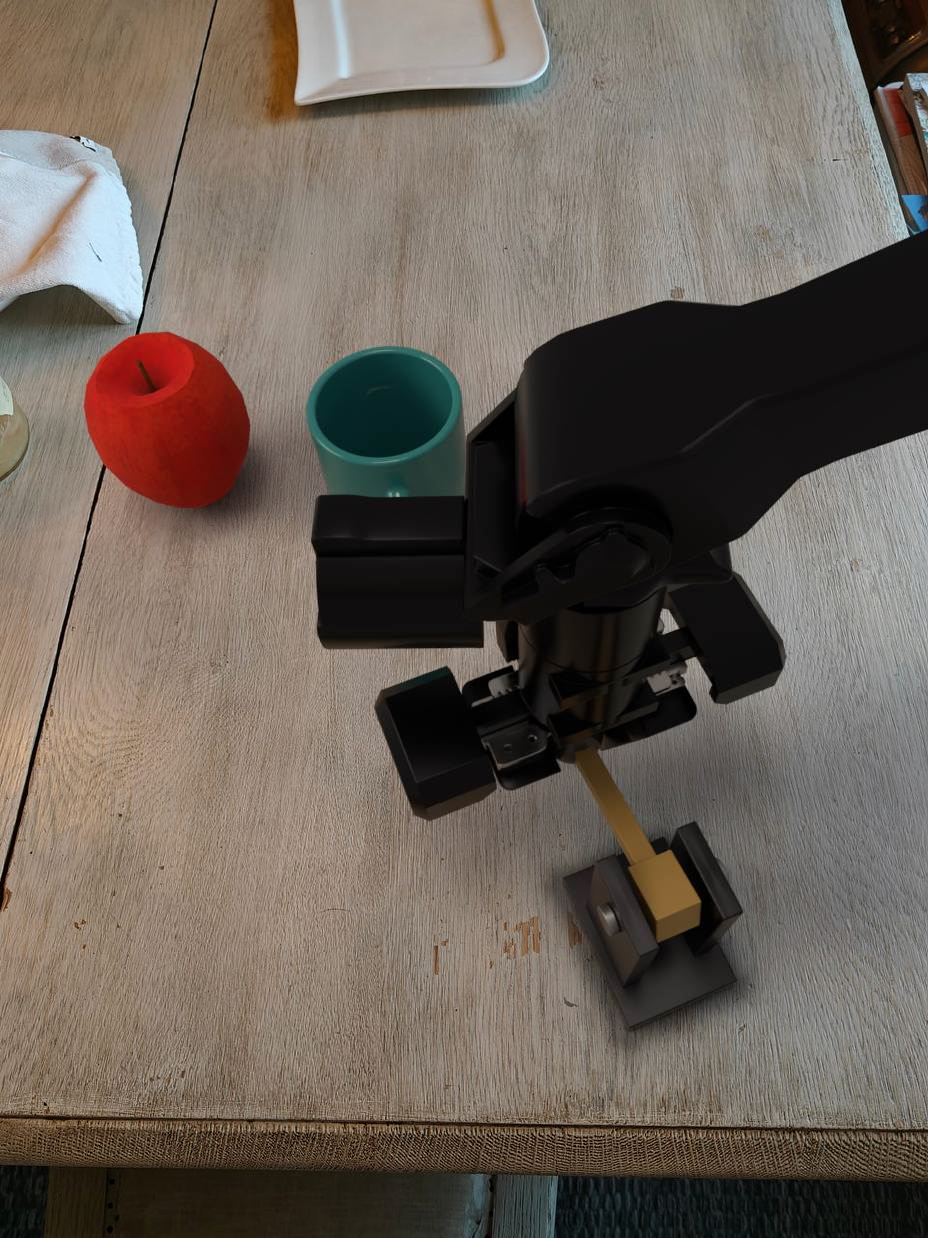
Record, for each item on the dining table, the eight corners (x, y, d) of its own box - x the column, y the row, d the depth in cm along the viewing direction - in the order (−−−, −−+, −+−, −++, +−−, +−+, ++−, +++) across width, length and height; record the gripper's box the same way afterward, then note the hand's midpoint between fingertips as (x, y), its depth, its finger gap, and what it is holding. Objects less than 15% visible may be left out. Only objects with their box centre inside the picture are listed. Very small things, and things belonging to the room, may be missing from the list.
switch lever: (535, 739, 52) (529, 703, 50) (589, 718, 53) (586, 682, 50) (646, 952, 43) (645, 921, 41) (709, 925, 44) (712, 893, 41)
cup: (348, 621, 61) (314, 519, 51) (334, 474, 67) (300, 356, 57) (489, 599, 61) (481, 493, 51) (461, 454, 67) (450, 334, 57)
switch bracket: (561, 883, 52) (568, 829, 43) (661, 842, 53) (687, 780, 44) (627, 1031, 48) (648, 1004, 40) (733, 984, 49) (776, 948, 40)
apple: (117, 455, 69) (42, 327, 58) (248, 411, 70) (198, 277, 59) (147, 561, 64) (71, 443, 53) (287, 511, 65) (239, 386, 55)
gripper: (700, 400, 44) (659, 580, 57) (311, 534, 41) (365, 689, 55) (833, 592, 38) (753, 740, 52) (395, 759, 36) (431, 869, 49)
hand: (572, 753), depth 52 cm, fingers closed on switch lever, 3 cm apart
